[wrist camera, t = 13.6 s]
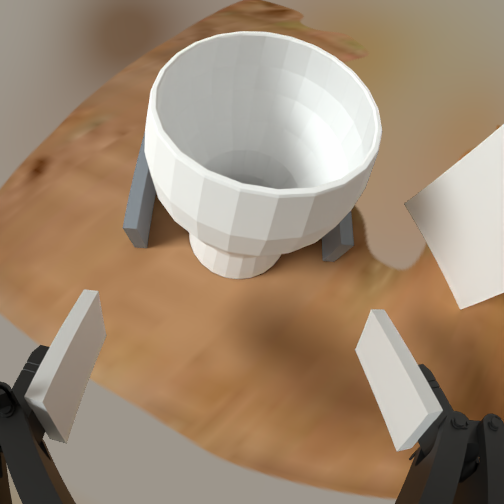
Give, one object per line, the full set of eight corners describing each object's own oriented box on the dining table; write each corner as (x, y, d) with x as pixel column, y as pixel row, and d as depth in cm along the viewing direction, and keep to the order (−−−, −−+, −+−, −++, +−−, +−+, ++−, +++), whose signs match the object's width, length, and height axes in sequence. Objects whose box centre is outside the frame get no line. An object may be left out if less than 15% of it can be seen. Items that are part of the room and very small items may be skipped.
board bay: (326, 155, 29) (340, 130, 25) (333, 261, 26) (353, 245, 22) (156, 139, 27) (150, 111, 24) (134, 247, 24) (122, 227, 20)
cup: (145, 252, 24) (79, 127, 10) (216, 155, 28) (228, 7, 14) (264, 323, 24) (345, 274, 9) (322, 213, 27) (412, 91, 13)
